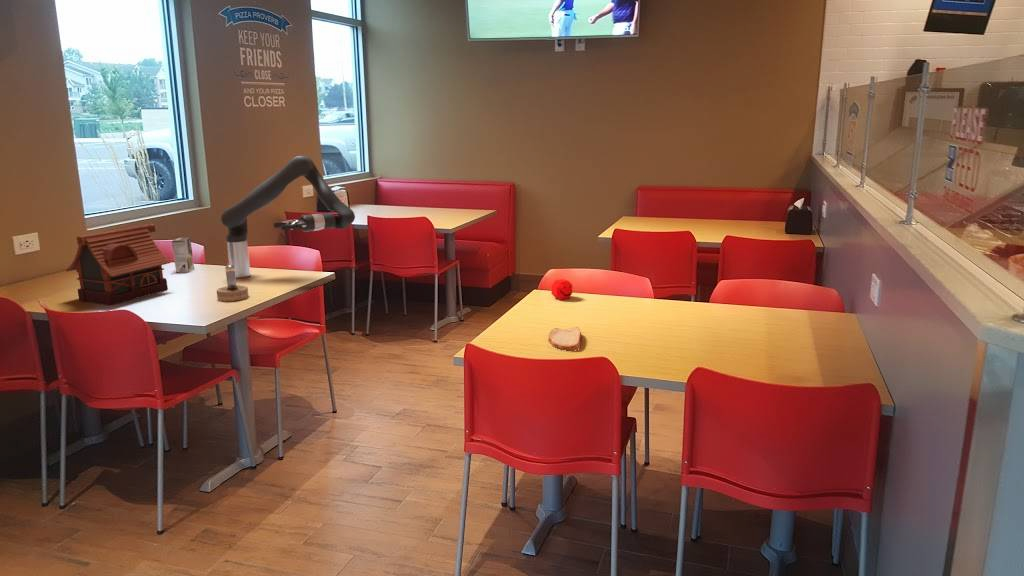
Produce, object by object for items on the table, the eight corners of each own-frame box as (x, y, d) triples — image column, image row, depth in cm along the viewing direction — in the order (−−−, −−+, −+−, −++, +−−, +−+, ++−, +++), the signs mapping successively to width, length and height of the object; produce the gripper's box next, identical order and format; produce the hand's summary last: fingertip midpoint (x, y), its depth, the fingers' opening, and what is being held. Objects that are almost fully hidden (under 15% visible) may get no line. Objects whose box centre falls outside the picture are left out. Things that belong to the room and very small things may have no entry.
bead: (214, 297, 312) (213, 288, 311) (242, 292, 320) (241, 283, 319) (223, 302, 303) (222, 293, 302) (252, 297, 311) (251, 288, 310)
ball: (559, 301, 299) (559, 283, 297) (548, 297, 306) (548, 279, 304) (575, 298, 303) (575, 281, 301) (564, 294, 310) (564, 277, 308)
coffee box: (181, 268, 369) (177, 237, 365) (194, 268, 370) (190, 237, 366) (175, 272, 360) (171, 240, 356) (188, 272, 361) (185, 240, 357)
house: (113, 308, 297) (102, 238, 290) (67, 301, 309) (56, 234, 302) (182, 288, 328) (174, 225, 321) (138, 283, 340) (129, 221, 333)
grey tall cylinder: (227, 297, 312) (223, 265, 308) (236, 296, 314) (232, 264, 311) (230, 299, 309) (226, 267, 306) (239, 297, 311) (235, 265, 308)
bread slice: (571, 354, 237) (571, 343, 236) (531, 342, 249) (531, 332, 248) (605, 341, 249) (605, 331, 248) (564, 331, 261) (565, 321, 260)
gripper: (305, 212, 334) (270, 216, 325) (318, 216, 324) (283, 219, 314) (306, 228, 336) (272, 232, 326) (319, 232, 326) (284, 237, 316)
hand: (277, 226), depth 320 cm, fingers open, 8 cm apart
